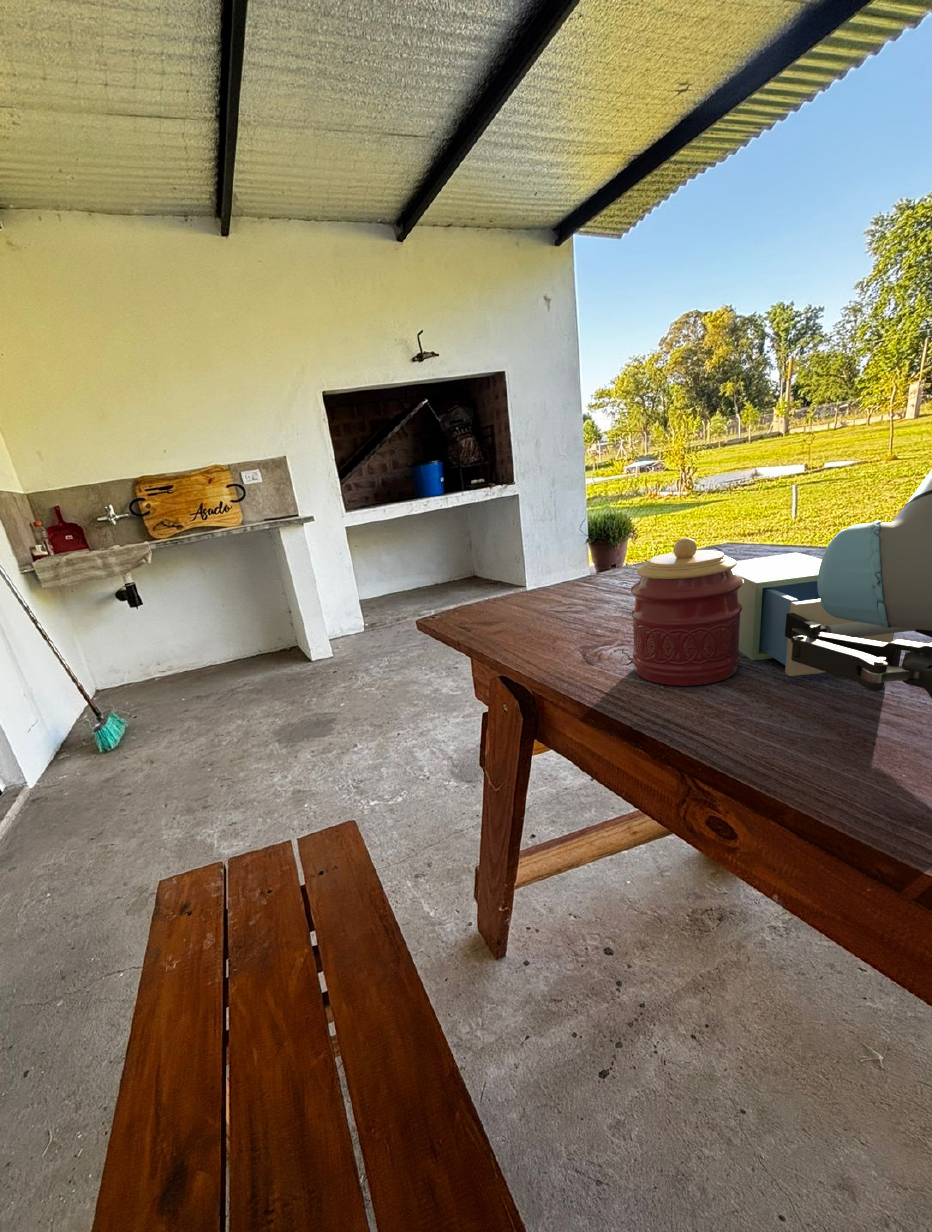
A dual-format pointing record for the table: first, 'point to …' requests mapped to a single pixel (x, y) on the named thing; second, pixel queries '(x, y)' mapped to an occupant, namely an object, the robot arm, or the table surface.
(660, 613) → the kitchen canister
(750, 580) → the small drawer unit
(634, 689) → the table surface
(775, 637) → the sliding drawer
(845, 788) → the table surface
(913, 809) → the table surface
